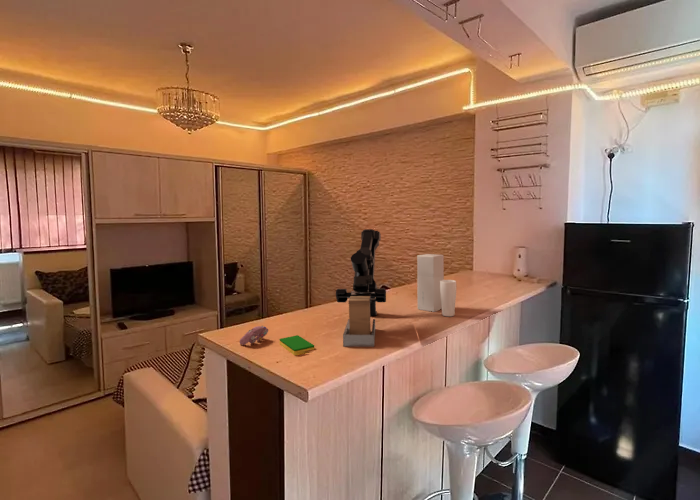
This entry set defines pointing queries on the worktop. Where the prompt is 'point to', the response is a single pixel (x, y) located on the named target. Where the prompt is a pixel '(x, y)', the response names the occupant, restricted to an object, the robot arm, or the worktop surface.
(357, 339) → the metal bay
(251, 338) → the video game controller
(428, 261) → the tall white carton
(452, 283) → the drinking glass
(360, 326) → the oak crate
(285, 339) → the dish sponge
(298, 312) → the worktop surface
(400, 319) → the worktop surface
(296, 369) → the worktop surface
